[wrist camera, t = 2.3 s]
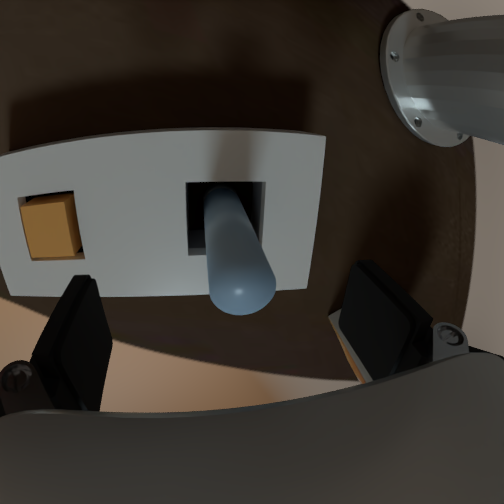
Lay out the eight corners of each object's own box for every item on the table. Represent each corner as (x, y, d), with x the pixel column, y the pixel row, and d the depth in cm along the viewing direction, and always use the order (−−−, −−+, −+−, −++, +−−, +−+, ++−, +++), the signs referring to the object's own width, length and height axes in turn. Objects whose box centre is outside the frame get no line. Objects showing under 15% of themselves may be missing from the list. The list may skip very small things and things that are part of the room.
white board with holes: (302, 131, 19) (325, 136, 15) (290, 260, 23) (306, 288, 20) (9, 151, 15) (-22, 162, 11) (31, 269, 19) (10, 295, 16)
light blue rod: (238, 182, 20) (279, 256, 10) (237, 215, 21) (273, 312, 11) (202, 183, 19) (208, 259, 10) (203, 216, 20) (210, 316, 11)
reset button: (76, 192, 15) (64, 201, 14) (84, 242, 17) (74, 256, 15) (34, 197, 15) (20, 207, 13) (44, 244, 16) (31, 257, 15)
